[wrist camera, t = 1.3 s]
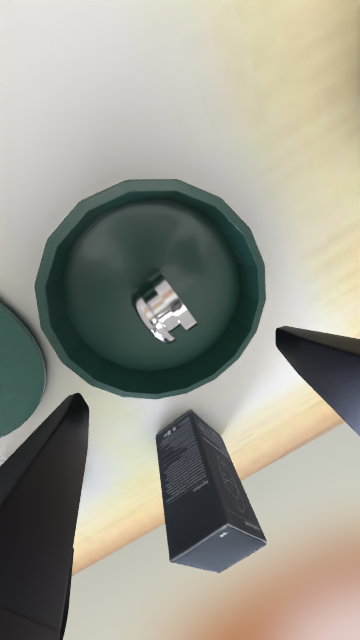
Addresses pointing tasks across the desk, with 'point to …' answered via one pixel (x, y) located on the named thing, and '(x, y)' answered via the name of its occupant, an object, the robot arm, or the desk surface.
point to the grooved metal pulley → (161, 309)
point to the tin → (134, 270)
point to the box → (204, 498)
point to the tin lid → (18, 372)
